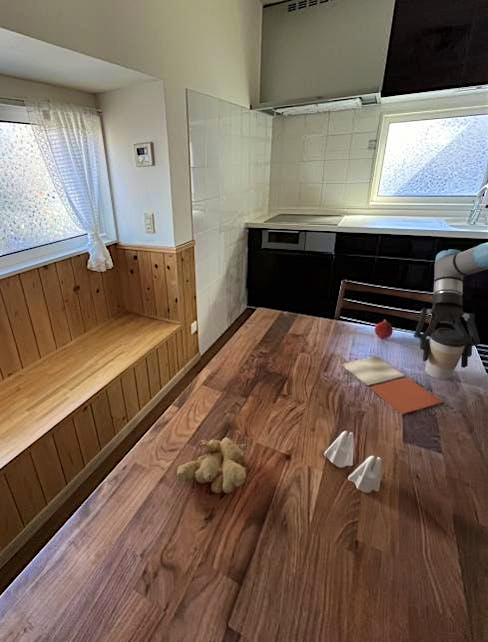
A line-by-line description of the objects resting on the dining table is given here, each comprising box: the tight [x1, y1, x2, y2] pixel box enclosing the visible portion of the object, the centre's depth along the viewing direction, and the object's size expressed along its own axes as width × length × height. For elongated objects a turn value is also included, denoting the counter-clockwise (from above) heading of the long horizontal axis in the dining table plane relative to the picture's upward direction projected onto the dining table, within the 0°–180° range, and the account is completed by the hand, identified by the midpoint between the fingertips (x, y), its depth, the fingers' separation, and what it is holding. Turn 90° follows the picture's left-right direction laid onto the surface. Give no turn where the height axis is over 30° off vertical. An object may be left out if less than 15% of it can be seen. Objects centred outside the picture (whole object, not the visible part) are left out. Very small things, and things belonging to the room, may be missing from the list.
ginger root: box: [176, 437, 248, 494], centre depth 78 cm, size 16×16×8 cm
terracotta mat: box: [369, 377, 444, 415], centre depth 99 cm, size 12×14×1 cm
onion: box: [374, 319, 394, 340], centre depth 126 cm, size 6×6×8 cm
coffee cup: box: [424, 327, 467, 381], centre depth 104 cm, size 9×9×15 cm
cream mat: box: [341, 355, 406, 387], centre depth 110 cm, size 12×14×1 cm
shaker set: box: [323, 430, 383, 494], centre depth 74 cm, size 12×4×11 cm, turn 30°
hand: (444, 363), depth 102 cm, fingers closed on coffee cup, 9 cm apart
